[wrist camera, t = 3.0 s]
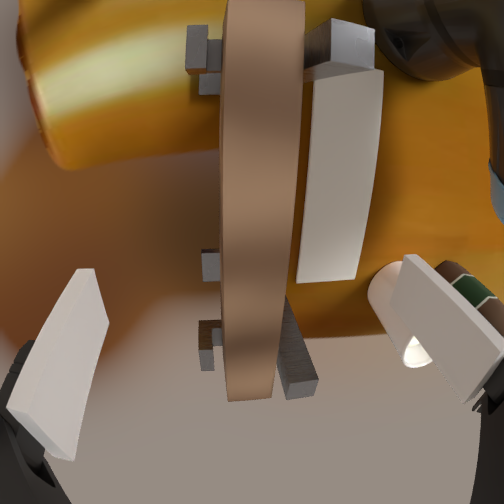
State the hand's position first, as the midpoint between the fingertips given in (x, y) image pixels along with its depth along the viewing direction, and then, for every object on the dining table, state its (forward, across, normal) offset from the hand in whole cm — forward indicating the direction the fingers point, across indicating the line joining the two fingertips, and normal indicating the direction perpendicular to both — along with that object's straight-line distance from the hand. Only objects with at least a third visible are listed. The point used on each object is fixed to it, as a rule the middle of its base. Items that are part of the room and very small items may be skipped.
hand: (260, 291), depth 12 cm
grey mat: (+20, +12, 0) cm, 23 cm away
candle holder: (+20, +24, -15) cm, 34 cm away
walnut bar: (+8, 0, 0) cm, 8 cm away
